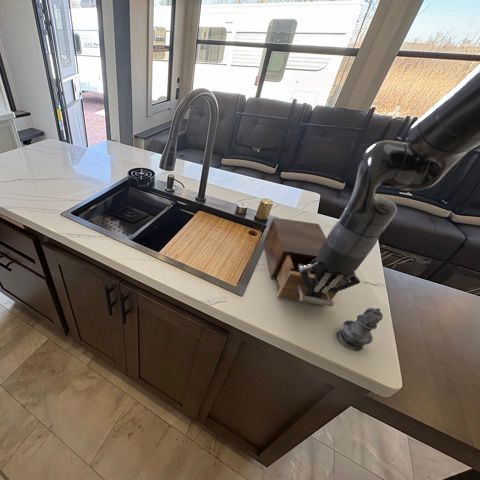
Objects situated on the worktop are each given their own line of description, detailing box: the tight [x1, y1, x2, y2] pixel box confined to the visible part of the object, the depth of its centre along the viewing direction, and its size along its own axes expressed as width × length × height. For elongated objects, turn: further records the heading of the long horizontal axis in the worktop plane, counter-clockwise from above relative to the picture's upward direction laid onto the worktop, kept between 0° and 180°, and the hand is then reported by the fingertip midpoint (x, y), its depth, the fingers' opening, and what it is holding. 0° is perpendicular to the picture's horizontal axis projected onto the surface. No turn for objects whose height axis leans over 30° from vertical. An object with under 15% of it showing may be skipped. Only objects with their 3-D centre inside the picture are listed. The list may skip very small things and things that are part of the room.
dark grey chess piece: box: [336, 307, 384, 352], centre depth 55 cm, size 6×6×12 cm
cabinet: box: [262, 217, 327, 280], centre depth 76 cm, size 17×14×11 cm
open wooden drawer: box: [276, 253, 340, 307], centre depth 68 cm, size 20×12×9 cm, turn 169°
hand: (311, 298), depth 62 cm, fingers closed
